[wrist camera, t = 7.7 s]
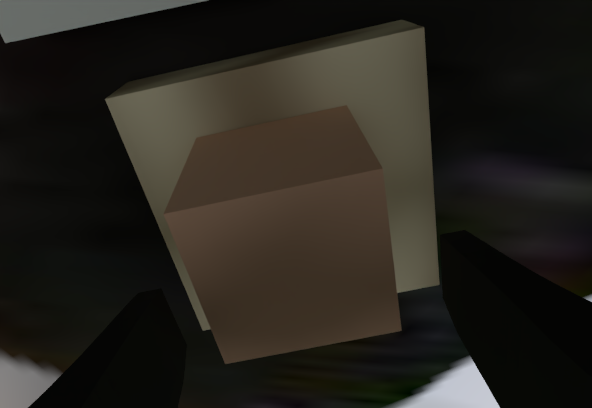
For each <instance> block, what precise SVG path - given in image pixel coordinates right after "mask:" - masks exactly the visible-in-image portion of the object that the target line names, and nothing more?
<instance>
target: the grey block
mask: <svg viewBox="0 0 592 408" xmlns="http://www.w3.org/2000/svg"><path fill="white" fill-rule="evenodd" d="M203 1H207V0H0V33H1V36H2V38H3V40H4V42H5V43H8V42H13V41H18V40H22V39H27V38H32V37H37V36H41V35H46V34H51V33H56V32H60V31H65V30H70V29H75V28H79V27H84V26H89V25H94V24H98V23H103V22H108V21H113V20H117V19H122V18H127V17H131V16H136V15H141V14H146V13H150V12H155V11H160V10H165V9H169V8H174V7H179V6H184V5H188V4H193V3H198V2H203Z"/></svg>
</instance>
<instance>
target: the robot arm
mask: <svg viewBox="0 0 592 408" xmlns="http://www.w3.org/2000/svg"><path fill="white" fill-rule="evenodd" d="M440 244H441V266H442V289H443V299H444V301H445V304H446V306H447V309H448V311H449V314H450V316H451V319H452V321H453V323H454V326H455V328H456V330H457V333H458V334H459V336H460V338H461V340H462V342H463V343H464V345H465V347H466V349H467V350H468V352H469V354H470V356H471V358H472V359H473V361H474V363H475V365H476V366H477V368H478V370H479V372H480V373H481V375H482V377H483V378H484V380H485V382H486V384H487V385H488V387H489V389H490V391H491V392H492V394H493V396H494V397H495V399H496V401H497V403H498V404H499V406H500V408H592V302H590V301H588V300H586V299H584V298H582V297H580V296H578V295H576V294H574V293H572V292H570V291H568V290H566V289H564V288H562V287H560V286H558V285H557V284H555V283H553V282H551V281H549V280H547V279H545V278H544V277H542V276H540V275H538V274H536V273H535V272H533V271H531V270H529V269H528V268H526V267H524V266H523V265H521V264H519V263H517V262H516V261H514V260H512V259H511V258H509V257H507V256H506V255H504V254H503V253H501V252H499V251H498V250H496V249H495V248H493V247H491V246H490V245H488V244H487V243H485V242H483V241H482V240H480V239H479V238H477V237H475V236H474V235H472V234H470V233H469V232H467V231H465V230H463V231H457V232H452V233H447V234H442V235H440ZM186 346H187V345H186V343H185V340H184V338H183V336H182V334H181V332H180V329H179V327H178V325H177V323H176V320H175V318H174V316H173V314H172V312H171V309H170V307H169V305H168V303H167V300H166V298H165V296H164V294H163V291H162V289H157V290H152V291H147V292H142V293H138V294H137V295H136V296H135V297H134V298H133V299H132V300H131V301H130V302H129V303H128V304H127V305H126V306H125V307H124V309H123V310H122V311H121V312H120V313H119V314H118V315H117V316H116V317H115V318H114V320H113V321H112V322H111V323H110V324H109V325H108V326H107V327H106V328H105V330H104V331H103V332H102V333H101V334H100V335H99V336H98V337H97V338H96V339H95V340H94V342H93V343H92V344H91V345H90V346H89V347H88V348H87V349H86V350H85V351H84V352H83V354H82V355H81V356H80V357H79V358H78V359H77V360H76V361H75V362H74V363H73V364H72V365H71V366H70V367H69V368H68V369H67V370H66V371H65V372H64V373H63V374H62V375H61V376H60V377H59V378H58V379H57V380H56V381H55V382H54V383H53V384H52V385H51V386H50V387H49V388H48V389H47V390H46V391H45V392H44V393H43V394H42V395H41V396H40V397H39V398H38V399H37V400H36V401H35V402H34V403H33V404H32V405H30V406H29V407H28V408H178V403H179V399H180V395H181V390H182V385H183V379H184V369H185V358H186Z"/></svg>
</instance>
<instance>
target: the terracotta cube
mask: <svg viewBox="0 0 592 408" xmlns="http://www.w3.org/2000/svg"><path fill="white" fill-rule="evenodd" d="M164 217H165V219H166V222H167V224H168V226H169V229H170V231H171V234H172V236H173V239H174V241H175V243H176V246H177V248H178V251H179V253H180V255H181V258H182V260H183V263H184V265H185V268H186V270H187V272H188V275H189V277H190V280H191V282H192V285H193V287H194V289H195V292H196V294H197V297H198V299H199V301H200V304H201V306H202V309H203V311H204V314H205V316H206V318H207V321H208V323H209V326H210V328H211V330H212V333H213V335H214V338H215V340H216V343H217V345H218V347H219V350H220V352H221V355H222V357H223V359H224V362H225V364H228V363H233V362H238V361H244V360H249V359H254V358H260V357H265V356H270V355H276V354H281V353H286V352H291V351H297V350H302V349H307V348H313V347H318V346H323V345H329V344H334V343H339V342H344V341H350V340H355V339H360V338H366V337H371V336H376V335H382V334H387V333H392V332H397V331H401V322H400V314H399V305H398V296H397V288H396V279H395V270H394V262H393V253H392V244H391V236H390V227H389V218H388V210H387V201H386V192H385V184H384V175H383V168H382V166H381V164H380V163H379V161H378V159H377V157H376V156H375V154H374V152H373V150H372V149H371V147H370V145H369V143H368V142H367V140H366V138H365V136H364V135H363V133H362V131H361V129H360V128H359V126H358V124H357V122H356V121H355V119H354V117H353V115H352V114H351V112H350V110H349V108H348V107H347V105H345V106H341V107H336V108H332V109H327V110H322V111H318V112H313V113H308V114H304V115H299V116H295V117H290V118H285V119H281V120H276V121H272V122H267V123H262V124H258V125H253V126H248V127H244V128H239V129H235V130H230V131H225V132H221V133H216V134H211V135H207V136H202V137H198V138H196V140H195V142H194V145H193V147H192V149H191V151H190V154H189V156H188V158H187V161H186V163H185V165H184V168H183V170H182V172H181V175H180V177H179V179H178V181H177V184H176V186H175V188H174V191H173V193H172V195H171V198H170V200H169V202H168V205H167V207H166V209H165V211H164Z"/></svg>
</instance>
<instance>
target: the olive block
mask: <svg viewBox="0 0 592 408" xmlns="http://www.w3.org/2000/svg"><path fill="white" fill-rule="evenodd" d="M105 100H106V103H107V105H108V107H109V110H110V112H111V114H112V117H113V119H114V122H115V124H116V126H117V129H118V131H119V133H120V136H121V138H122V140H123V143H124V145H125V148H126V150H127V152H128V155H129V157H130V159H131V162H132V164H133V166H134V169H135V171H136V174H137V176H138V178H139V181H140V183H141V185H142V188H143V190H144V192H145V195H146V197H147V200H148V202H149V204H150V207H151V209H152V211H153V214H154V216H155V218H156V221H157V223H158V226H159V228H160V230H161V233H162V235H163V237H164V240H165V242H166V245H167V247H168V249H169V252H170V254H171V256H172V259H173V261H174V263H175V266H176V268H177V271H178V273H179V275H180V278H181V280H182V282H183V285H184V287H185V289H186V292H187V294H188V297H189V299H190V301H191V304H192V306H193V308H194V311H195V313H196V315H197V318H198V320H199V323H200V325H201V327H202V330H209V329H211V328H210V326H209V323H208V321H207V318H206V316H205V314H204V311H203V309H202V306H201V304H200V301H199V299H198V297H197V294H196V292H195V289H194V287H193V285H192V282H191V280H190V277H189V275H188V272H187V270H186V268H185V265H184V263H183V260H182V258H181V255H180V253H179V251H178V248H177V246H176V243H175V241H174V239H173V236H172V234H171V231H170V229H169V226H168V224H167V222H166V219H165V217H164V211H165V209H166V207H167V205H168V202H169V200H170V198H171V195H172V193H173V191H174V188H175V186H176V184H177V181H178V179H179V177H180V175H181V172H182V170H183V168H184V165H185V163H186V161H187V158H188V156H189V154H190V151H191V149H192V147H193V145H194V142H195V140H196V138H198V137H202V136H207V135H211V134H216V133H221V132H225V131H230V130H235V129H239V128H244V127H248V126H253V125H258V124H262V123H267V122H272V121H276V120H281V119H285V118H290V117H295V116H299V115H304V114H308V113H313V112H318V111H322V110H327V109H332V108H336V107H341V106H345V105H347V107H348V108H349V110H350V112H351V114H352V115H353V117H354V119H355V121H356V122H357V124H358V126H359V128H360V129H361V131H362V133H363V135H364V136H365V138H366V140H367V142H368V143H369V145H370V147H371V149H372V150H373V152H374V154H375V156H376V157H377V159H378V161H379V163H380V164H381V166H382V168H383V175H384V184H385V192H386V201H387V210H388V218H389V227H390V236H391V244H392V253H393V262H394V270H395V279H396V288H397V293H399V292H404V291H409V290H415V289H420V288H425V287H430V286H435V285H439V270H438V253H437V236H436V220H435V203H434V186H433V169H432V152H431V135H430V118H429V101H428V84H427V67H426V50H425V33H424V27H422V26H419V25H416V24H413V23H410V22H407V21H404V20H398V21H394V22H389V23H385V24H380V25H376V26H372V27H367V28H363V29H358V30H354V31H350V32H345V33H341V34H336V35H332V36H328V37H323V38H319V39H314V40H310V41H306V42H301V43H297V44H292V45H288V46H284V47H279V48H275V49H270V50H266V51H262V52H257V53H253V54H248V55H244V56H240V57H235V58H231V59H226V60H222V61H218V62H213V63H209V64H204V65H200V66H196V67H191V68H187V69H182V70H178V71H174V72H169V73H165V74H160V75H156V76H152V77H147V78H143V79H138V80H134V81H130V82H127V83H126V84H125V85H123V86H122V87H121V88H119V89H118V90H117V91H115V92H114V93H113V94H111V95H110V96H109V97H107V98H106V99H105Z"/></svg>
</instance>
